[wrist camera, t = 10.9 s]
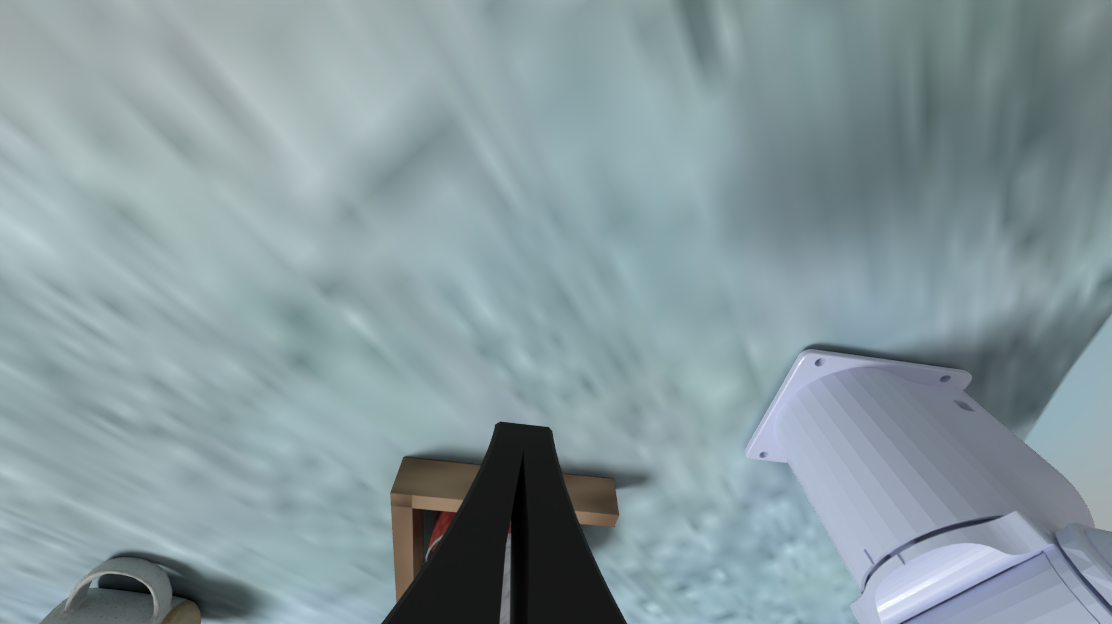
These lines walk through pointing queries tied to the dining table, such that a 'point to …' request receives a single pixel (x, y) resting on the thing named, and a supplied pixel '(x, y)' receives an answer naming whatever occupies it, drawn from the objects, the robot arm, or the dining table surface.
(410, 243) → the dining table surface
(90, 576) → the ceramic mug
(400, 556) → the brown wooden u-shaped piece
